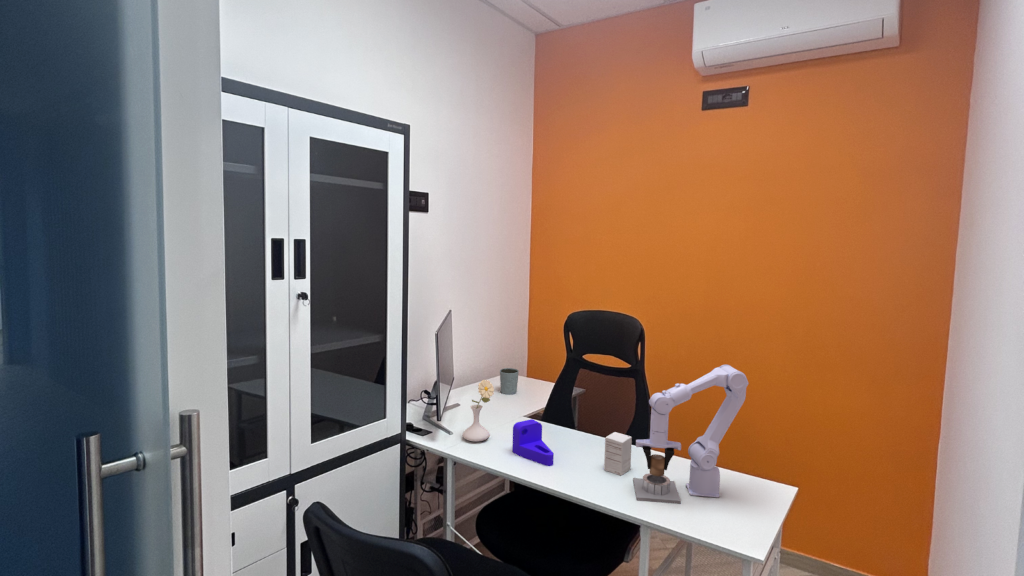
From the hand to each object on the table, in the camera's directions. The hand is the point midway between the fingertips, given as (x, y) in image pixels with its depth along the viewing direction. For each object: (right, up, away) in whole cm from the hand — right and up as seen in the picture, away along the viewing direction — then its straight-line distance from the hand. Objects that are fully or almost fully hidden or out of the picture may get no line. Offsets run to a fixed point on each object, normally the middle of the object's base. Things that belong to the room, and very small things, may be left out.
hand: (657, 468), depth 184 cm
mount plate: (0, -8, +1) cm, 8 cm away
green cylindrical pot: (-50, +5, +108) cm, 119 cm away
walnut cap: (0, -2, 0) cm, 2 cm away
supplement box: (-10, -6, +17) cm, 21 cm away
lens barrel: (0, -8, +1) cm, 8 cm away
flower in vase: (-63, -2, +44) cm, 77 cm away
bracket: (-39, -5, +27) cm, 48 cm away
